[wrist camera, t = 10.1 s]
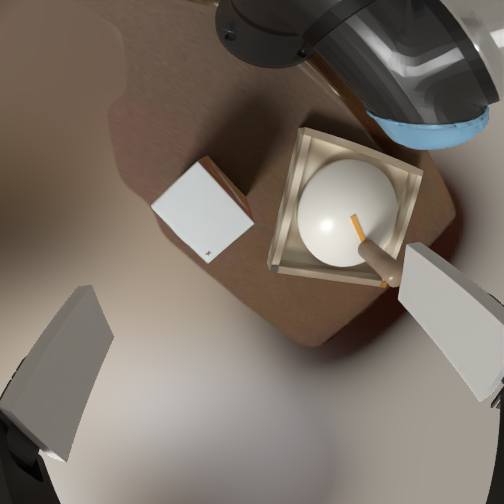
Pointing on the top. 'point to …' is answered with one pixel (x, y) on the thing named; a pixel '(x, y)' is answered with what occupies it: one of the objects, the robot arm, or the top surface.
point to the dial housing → (301, 169)
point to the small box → (205, 209)
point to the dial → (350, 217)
